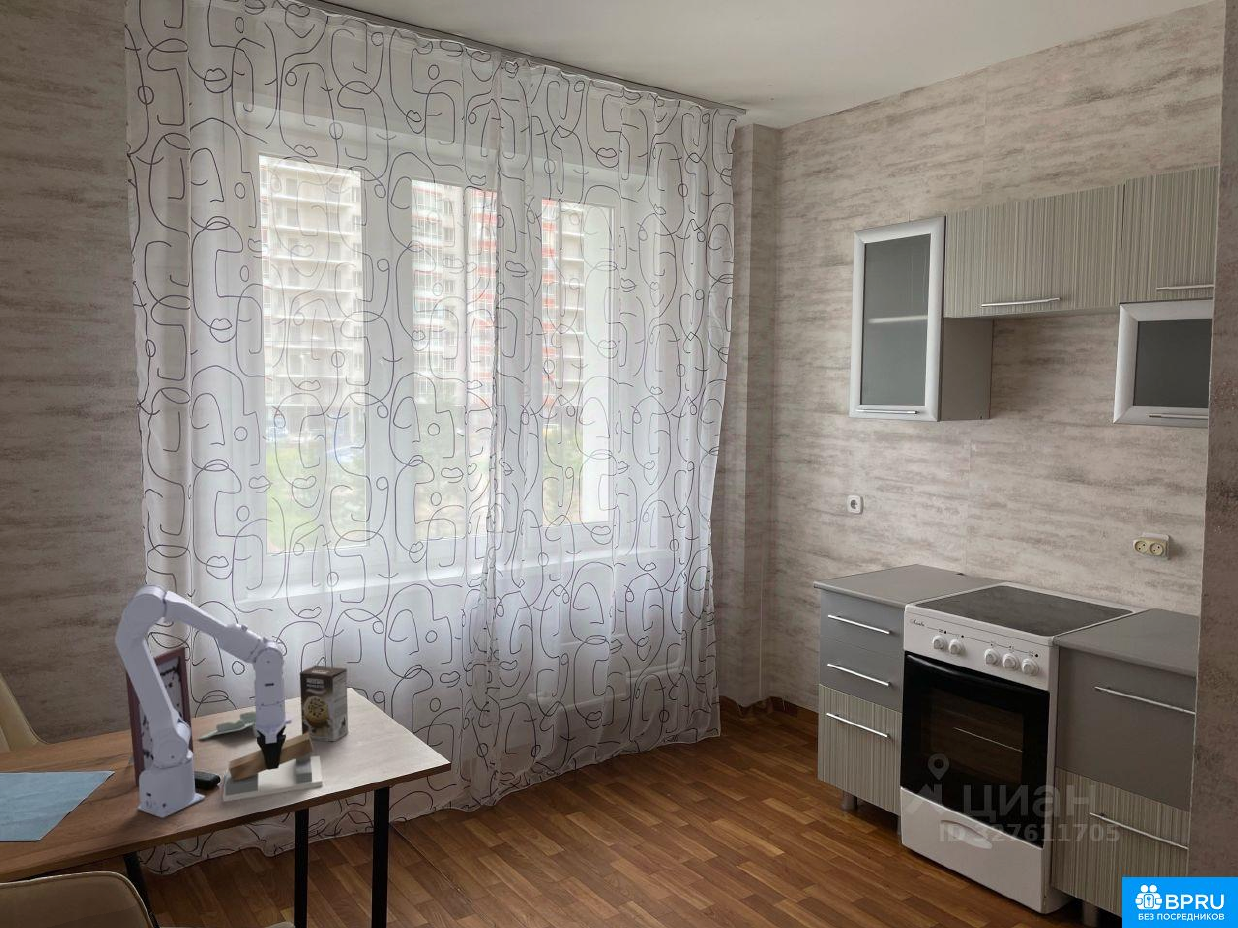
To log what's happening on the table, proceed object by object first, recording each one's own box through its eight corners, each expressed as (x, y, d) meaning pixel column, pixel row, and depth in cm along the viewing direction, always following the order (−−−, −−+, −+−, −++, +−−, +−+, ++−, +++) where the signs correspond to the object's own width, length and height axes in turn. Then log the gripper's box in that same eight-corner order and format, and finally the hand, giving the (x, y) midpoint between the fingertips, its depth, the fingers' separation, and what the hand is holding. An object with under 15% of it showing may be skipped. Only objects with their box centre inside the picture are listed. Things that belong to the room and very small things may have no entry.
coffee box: (300, 738, 209) (298, 672, 208) (317, 728, 215) (314, 664, 214) (333, 742, 206) (331, 675, 205) (349, 732, 213) (347, 667, 211)
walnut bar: (233, 782, 179) (229, 768, 178) (234, 774, 183) (230, 761, 182) (313, 751, 184) (309, 738, 184) (312, 744, 188) (308, 731, 187)
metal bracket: (281, 702, 218) (234, 723, 204) (288, 725, 218) (241, 748, 204) (240, 711, 223) (191, 732, 210) (246, 733, 223) (198, 756, 209)
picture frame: (140, 785, 185) (133, 669, 183) (100, 781, 187) (93, 666, 185) (193, 753, 201) (188, 646, 199) (156, 750, 203) (150, 644, 201)
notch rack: (223, 801, 177) (221, 772, 176) (226, 773, 190) (225, 746, 189) (322, 785, 184) (321, 757, 183) (319, 759, 197) (318, 733, 196)
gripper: (291, 709, 177) (293, 774, 178) (290, 687, 190) (292, 747, 192) (253, 714, 174) (256, 780, 176) (255, 691, 188) (257, 753, 189)
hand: (272, 764), depth 183 cm, fingers closed on walnut bar, 4 cm apart
